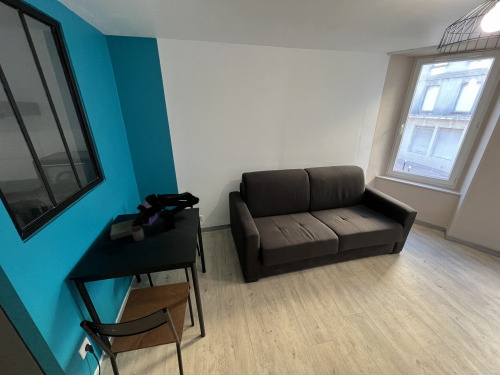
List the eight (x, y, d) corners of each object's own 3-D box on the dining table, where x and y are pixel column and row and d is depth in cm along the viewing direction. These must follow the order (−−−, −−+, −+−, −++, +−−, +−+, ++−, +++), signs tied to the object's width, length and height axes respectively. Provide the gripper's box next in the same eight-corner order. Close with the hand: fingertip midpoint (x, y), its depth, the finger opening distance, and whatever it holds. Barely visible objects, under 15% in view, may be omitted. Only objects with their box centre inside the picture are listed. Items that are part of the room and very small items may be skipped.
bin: (136, 223, 150) (135, 219, 148) (136, 233, 138) (135, 228, 136) (113, 229, 143) (112, 225, 141) (112, 240, 131) (110, 235, 129)
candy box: (150, 226, 146) (145, 207, 140) (143, 226, 146) (137, 207, 140) (158, 216, 159) (154, 199, 153) (151, 216, 159) (147, 199, 153)
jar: (144, 234, 136) (141, 224, 133) (144, 239, 131) (141, 228, 128) (134, 237, 133) (130, 227, 130) (134, 242, 128) (130, 231, 125)
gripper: (146, 198, 136) (125, 212, 130) (146, 203, 120) (122, 218, 114) (156, 210, 140) (136, 224, 134) (157, 216, 124) (135, 232, 118)
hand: (132, 224), depth 125 cm, fingers open, 9 cm apart
